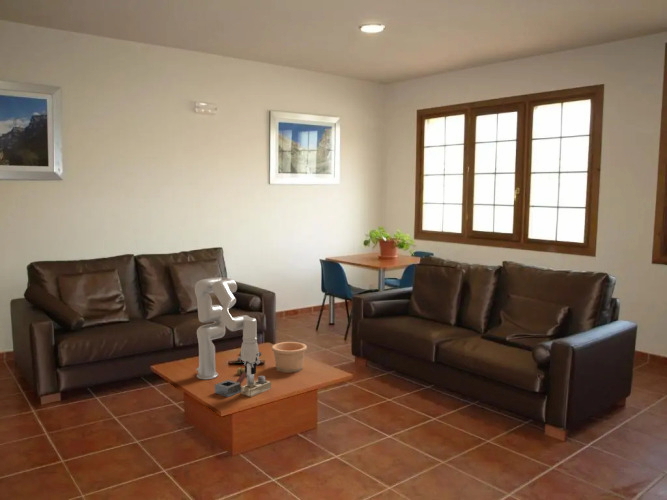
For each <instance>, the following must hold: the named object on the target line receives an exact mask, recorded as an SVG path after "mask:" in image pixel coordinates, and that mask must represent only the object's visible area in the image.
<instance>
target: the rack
mask: <svg viewBox="0 0 667 500" xmlns="http://www.w3.org/2000/svg"><path fill="white" fill-rule="evenodd" d="M271 389H272V381H269V380H266V376H265V375H258V377H257V380H254V385H247V384H245V385H241V392H240V394H241V395H243V396H246V397H250V398H252V397H255V396H257V395H259V394H263V393H264V392H266V391H269V390H271Z"/></svg>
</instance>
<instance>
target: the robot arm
mask: <svg viewBox="0 0 667 500" xmlns="http://www.w3.org/2000/svg"><path fill="white" fill-rule="evenodd" d="M237 290H238V284H237V283H236V281H235V280H234V279H233V278H228V277H223V276H220V277H211V278H205V279H204V278H203V279H200V280H198V281H196V282H195V285H194V294H195V296H196V301H197V302H196V303H197V314H198V315H197V316H198V321H199V323H200V322H201V323H203V324H204V325H201V326H199V327H198V328H196V329H197V330H196V335H197V337H196V338H197V342H198V365H199V366H198V367H197V368H195V371H197V372H198V373H197V374H196V379H199V380H212V379H215V378H217V377H218V376H219V373H218V372H217V371H216V346H215V344H214V343H213V341H214V340H216V339H221V338H223V337H224V336H225V335H226V328H227V329H228V330H229V331H230V332H236V331H240V330H241V331H242V342H241V348H240V351H241V355H240V357H241V360H242V361H243V363H244V364H243V366H244V368H245V373H247V362H251V363H252V367H251V374H254V375H255V374H256V373H257V367H258V365H259V364H261V360H260V356H259V352H260V351H259V350H260V348H259V345H258V344H259V343H258V333H257V332H258V331H257V329H258V326H257V325H258V324H257V319H256V318H255V317H250V316H249V315H246V314H244V315H239V316H238V315H237V316H233V317H232V315H231V314H230V312H229V310H230V309H231V308H232V307H234V306H235V304H236V303H237V298H236V297H235V296H234V293H236V292H237ZM211 293H214V295H215V296H216V298H217V299H218V301H219V303H220V304H213V299H212V297H211V295H210V294H211ZM211 322H213V323H211ZM206 323H208V324H206Z"/></svg>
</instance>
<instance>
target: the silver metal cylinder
mask: <svg viewBox="0 0 667 500" xmlns="http://www.w3.org/2000/svg"><path fill="white" fill-rule="evenodd" d="M251 367H252V363H251V362H247V375H246V385H254V381H255V374H251Z"/></svg>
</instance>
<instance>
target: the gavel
mask: <svg viewBox="0 0 667 500" xmlns="http://www.w3.org/2000/svg"><path fill="white" fill-rule="evenodd" d="M236 374H237V376H239V378H238V379H237V380H236V382H238V383H241V384H242V382H243V381H244V380H245V378H246V377H247V373H245V367H243V368H242V367H238V368H237V369H236Z"/></svg>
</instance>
